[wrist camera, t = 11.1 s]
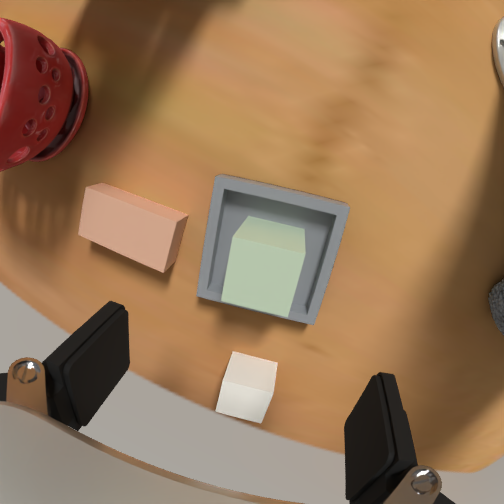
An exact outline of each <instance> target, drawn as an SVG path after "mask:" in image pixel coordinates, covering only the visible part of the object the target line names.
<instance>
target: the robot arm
mask: <svg viewBox="0 0 504 504" xmlns="http://www.w3.org/2000/svg"><path fill="white" fill-rule="evenodd" d="M492 49H493V57H494V61H495V66H496V69H497V72H498V75H499V78H500V81H501V83H502V85H503V88H504V17H502V18H501V19H500V20H498V22H497V24H496V25H495V27H494V31H493V35H492ZM129 364H130V356H129V328H128V311H127V310H125V307H124V306H123V305H121V304H118V303H116V302H113V301H109V302H108V303H107V304H106V305H104V306H103V307H102V308H101V309H100V310H99V311H98V312H97V313H95V314H94V315H93V316H92V317H91V318H90V319H89V320H88V321H87V322H85V323H84V324H83V325H82V326H81V327H80V328H78V329H77V330H76V331H75V332H74V333H73V334H72V335H71V336H70V337H69V338H68V339H67V340H65V341H64V342H63V343H62V344H61V345H60V346H59V347H58V348H57V349H56V350H55V351H54V352H53V353H52V354H51V355H49V356H48V357H47V358H46V359H45V360H44V361H43V362H42V363H41V362H40V361H38V360H37V359H34V358H27V357H26V358H21V359H18V360H16V361H15V362H14V363H12V364H11V366H10V367H9V370H8V373H1V374H0V504H303V503H295V502H288V501H282V500H276V499H271V498H265V497H260V496H255V495H250V494H246V493H241V492H237V491H233V490H229V489H225V488H221V487H217V486H213V485H210V484H206V483H203V482H200V481H196V480H193V479H190V478H186V477H184V476H181V475H178V474H174V473H172V472H169V471H166V470H163V469H161V468H158V467H155V466H153V465H150V464H147V463H145V462H143V461H140V460H138V459H135V458H133V457H130V456H128V455H126V454H123V453H121V452H119V451H117V450H115V449H112V448H110V447H108V446H106V445H104V444H102V443H100V442H98V441H96V440H94V439H92V438H90V437H88V436H85V435H84V434H82V433H80V432H78V430H79V429H80V428H81V426H86V425H87V424H88V423H89V422H90V420H91V419H92V417H93V416H94V415H95V413H96V412H97V411H98V409H99V408H100V406H101V405H102V404H103V402H104V401H105V400H106V398H107V397H108V395H109V394H110V393H111V391H112V390H113V389H114V387H115V386H116V385H117V383H118V382H119V381H120V379H121V378H122V377H123V375H124V374H125V372H126V371H127V370H128V368H129ZM68 426H69V427H68ZM70 427H71V428H70ZM72 428H73V429H72ZM74 429H75V430H74ZM76 430H77V431H76ZM344 435H345V470H346V471H345V472H346V499H347V500H350V504H455V503H454V502H453V501H451V500H450V499H449V498H447V497H446V496H445V495H443V494H442V493H441V492H440V490H441V488H442V482H441V478H440V476H439V474H438V473H437V472H436V471H435V470H434V469H432V468H430V467H428V466H424V465H420V466H418V464H417V459H416V454H415V449H414V444H413V440H412V435H411V431H410V427H409V422H408V418H407V414H406V412H405V411H404V410H403V406H402V402H401V398H400V394H399V390H398V387H397V383H396V379H395V376H394V375H393V374H388V373H382V372H379V373H378V374H377V375H373V376H372V378H371V379H370V381H369V383H368V385H367V386H366V388H365V390H364V392H363V393H362V395H361V397H360V399H359V400H358V402H357V404H356V405H355V407H354V409H353V410H352V412H351V414H350V415H349V417H348V418H347V420H346V422H345V426H344Z"/></svg>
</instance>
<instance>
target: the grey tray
mask: <svg viewBox="0 0 504 504" xmlns="http://www.w3.org/2000/svg"><path fill="white" fill-rule="evenodd" d="M349 210H350V207H349V206H348V204H347V203H345V202H341V201H337V200H334V199H330V198H326V197H322V196H318V195H314V194H310V193H306V192H302V191H298V190H294V189H289V188H285V187H281V186H276V185H272V184H268V183H263V182H259V181H254V180H249V179H245V178H240V177H235V176H230V175H225V174H220V175H217V176H215V182H214V187H213V193H212V199H211V205H210V211H209V217H208V223H207V229H206V235H205V241H204V248H203V254H202V261H201V268H200V274H199V281H198V288H197V296H198V297H202V298H205V299H209V300H213V301H217V302H220V303H224V304H228V305H232V306H236V307H240V308H244V309H248V310H252V311H256V312H260V313H264V314H268V315H272V316H276V317H281V318H285V319H289V320H293V321H298V322H302V323H307V324H311V325H314V323H315V320H316V317H317V314H318V311H319V309H320V306H321V303H322V300H323V296H324V293H325V290H326V287H327V284H328V281H329V278H330V275H331V272H332V268H333V265H334V262H335V258H336V255H337V252H338V248H339V245H340V242H341V238H342V235H343V231H344V228H345V224H346V221H347V217H348V213H349ZM248 216H251V217H256V218H260V219H264V220H269V221H273V222H277V223H281V224H286V225H290V226H294V227H298V228H302V229H305V252H306V254H305V258H304V262H303V265H302V269H301V273H300V276H299V280H298V283H297V287H296V290H295V294H294V297H293V301H292V304H291V308H290V311H289V314H288V317H284V316H280V315H276V314H271V313H267V312H263V311H259V310H255V309H251V308H247V307H243V306H239V305H235V304H231V303H227V302H223V301H221V298H222V292H223V286H224V281H225V275H226V270H227V264H228V259H229V253H230V248H231V243H232V237H233V235H234V234H235V233H236V231H237V230H238V229H239V228H240V226H241V225H242V224H243V222H244V221H245V220H246V218H247V217H248Z"/></svg>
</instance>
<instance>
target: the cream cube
mask: <svg viewBox="0 0 504 504" xmlns="http://www.w3.org/2000/svg"><path fill="white" fill-rule="evenodd" d="M277 364H278V363H277V362H273V361H269V360H265V359H261V358H257V357H253V356H249V355H246V354H242V353H238V352H235V351H233V352H232V355H231V358H230V361H229V364H228V367H227V370H226V373H225V376H224V378H223V382H222V386H221V390H220V394H219V399H218V403H217V407H216V411H215V412H219V413H222V414H226V415H230V416H233V417H237V418H241V419H245V420H249V421H253V422H257V423H262V420H263V418H264V415H265V413H266V411H267V408H268V406H269V403H270V401H271V398H272V396H273V393H274V386H275V379H276V371H277Z"/></svg>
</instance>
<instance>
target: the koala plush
mask: <svg viewBox="0 0 504 504" xmlns="http://www.w3.org/2000/svg"><path fill="white" fill-rule="evenodd" d="M489 296H490V297H489V298H488V299H489V304H490V309H491V313H492V317H493V319H494V321H495V324H496V326H497V327H498V329H499V330H500V331H501V332H502V334H503V335H504V279H502V281H501V282H499V283H497V284H496V285H494V288H492V292H490V293H489Z"/></svg>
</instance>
